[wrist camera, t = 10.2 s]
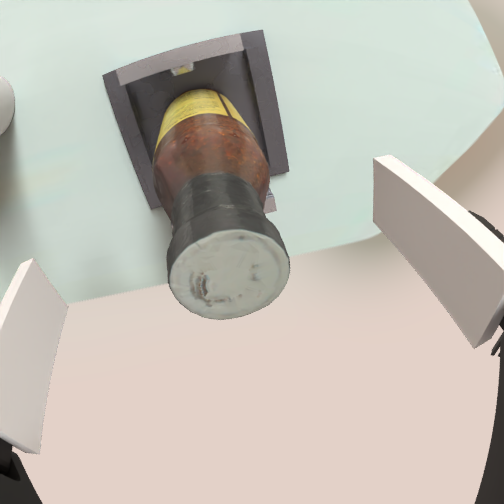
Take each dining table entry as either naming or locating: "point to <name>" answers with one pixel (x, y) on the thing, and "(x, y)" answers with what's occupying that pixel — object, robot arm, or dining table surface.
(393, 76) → the dining table surface
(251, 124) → the clip holder
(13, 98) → the coffee cup
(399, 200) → the robot arm
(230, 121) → the sauce bottle
